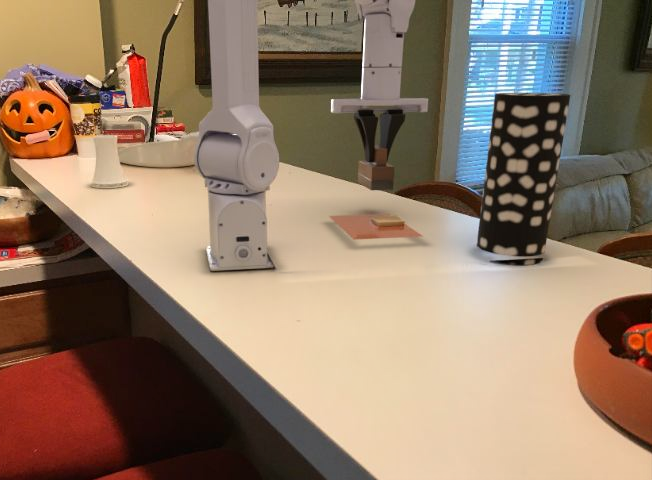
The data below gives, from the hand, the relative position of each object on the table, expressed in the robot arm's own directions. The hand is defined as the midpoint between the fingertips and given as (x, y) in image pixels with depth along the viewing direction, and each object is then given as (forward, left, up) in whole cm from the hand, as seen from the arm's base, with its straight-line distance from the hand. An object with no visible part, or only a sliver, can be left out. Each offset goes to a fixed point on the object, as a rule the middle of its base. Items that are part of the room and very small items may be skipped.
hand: (376, 161), depth 94 cm
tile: (-7, +2, -9) cm, 12 cm away
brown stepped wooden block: (0, 0, -4) cm, 4 cm away
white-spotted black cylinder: (-21, -12, -10) cm, 26 cm away
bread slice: (-6, 0, -8) cm, 10 cm away
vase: (+40, +44, -10) cm, 60 cm away
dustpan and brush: (+64, +29, -10) cm, 71 cm away
